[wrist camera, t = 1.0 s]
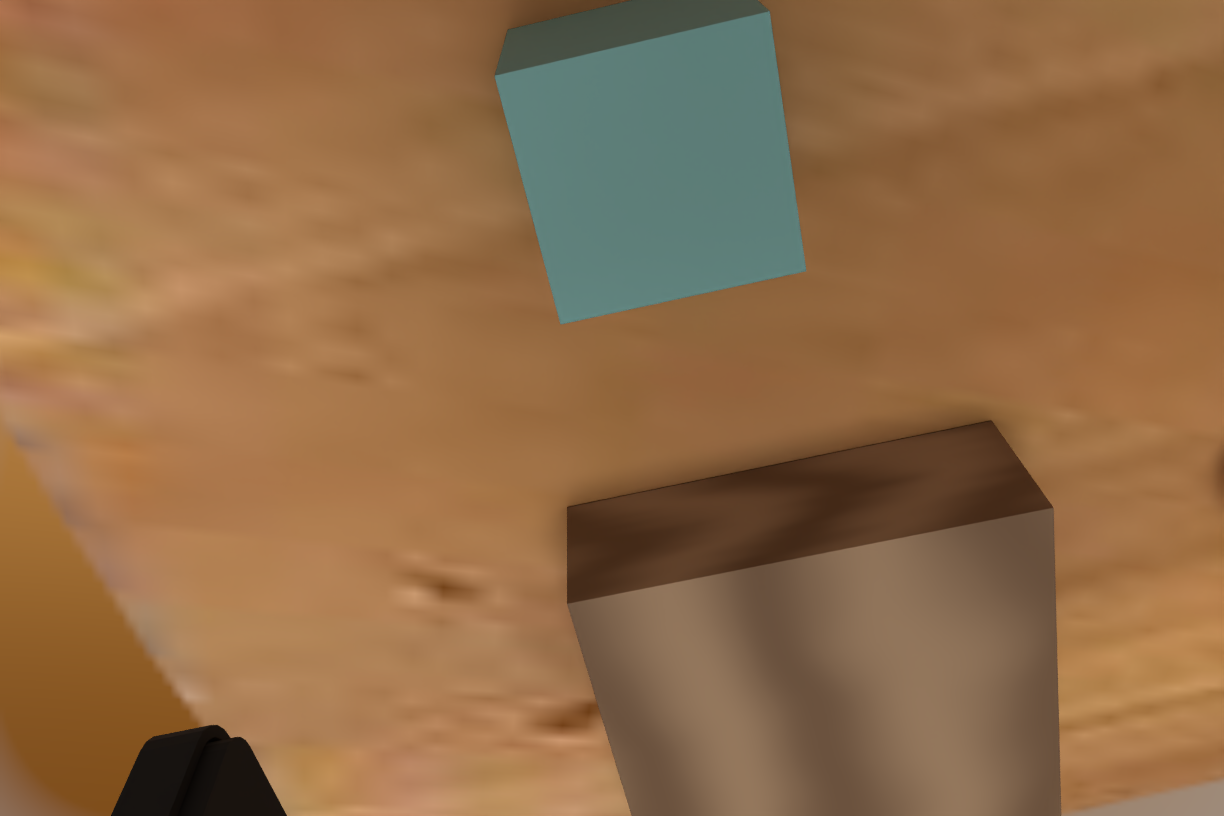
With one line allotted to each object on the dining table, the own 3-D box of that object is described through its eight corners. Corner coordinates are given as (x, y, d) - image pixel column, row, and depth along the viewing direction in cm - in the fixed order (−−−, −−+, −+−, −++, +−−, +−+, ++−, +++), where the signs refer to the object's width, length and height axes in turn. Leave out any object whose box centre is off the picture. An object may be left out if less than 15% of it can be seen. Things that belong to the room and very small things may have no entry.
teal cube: (731, -25, 28) (769, 11, 23) (765, 194, 31) (806, 271, 26) (507, 29, 28) (494, 75, 23) (561, 239, 31) (560, 324, 26)
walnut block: (991, 420, 35) (1053, 507, 30) (1009, 731, 41) (1061, 839, 37) (567, 507, 36) (567, 603, 31) (650, 797, 42) (660, 910, 38)
